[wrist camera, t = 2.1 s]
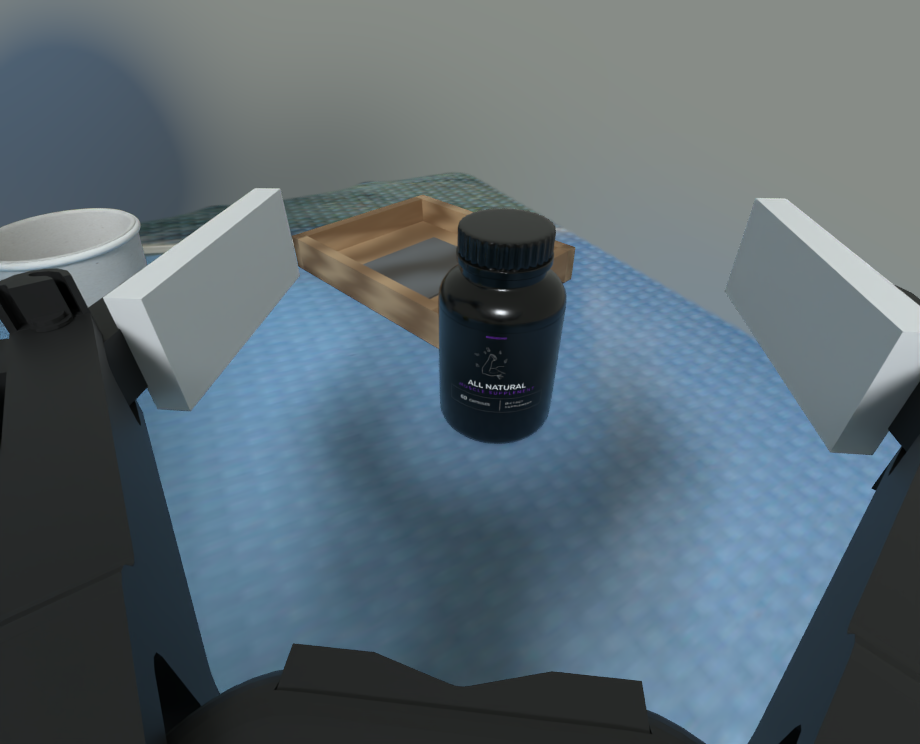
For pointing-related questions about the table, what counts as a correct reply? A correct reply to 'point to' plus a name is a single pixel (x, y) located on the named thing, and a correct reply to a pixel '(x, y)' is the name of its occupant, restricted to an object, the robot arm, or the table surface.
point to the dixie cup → (76, 248)
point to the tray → (397, 259)
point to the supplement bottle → (500, 326)
